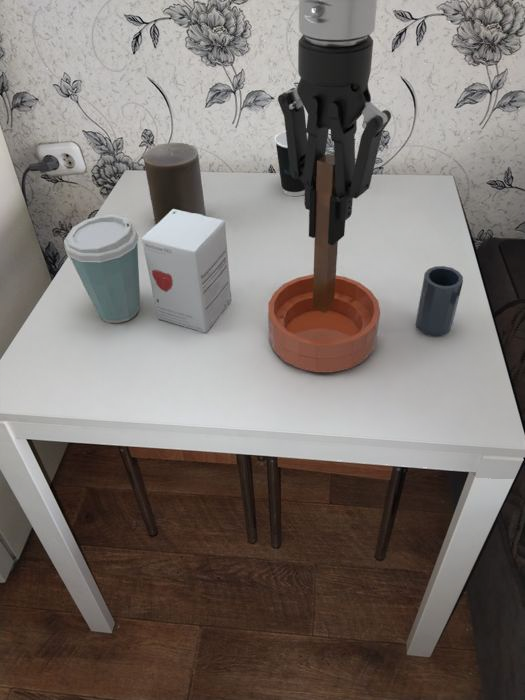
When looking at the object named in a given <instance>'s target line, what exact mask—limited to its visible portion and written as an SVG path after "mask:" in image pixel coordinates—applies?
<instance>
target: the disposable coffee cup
mask: <svg viewBox="0 0 525 700" xmlns="http://www.w3.org/2000/svg"><path fill="white" fill-rule="evenodd" d="M138 242H139V234H138V231H137V229H136V228H135V225H134V224H133V223H132V222H131V220H130V218H129V217H128V216H124V215H121V214H118V213H113V214H112V213H111V214H110V213H109V214H100V215H97V216H93V217H90V218H87V219H84V220H82V221H81V222H80V223H78V224H76V225H74V226H73V227H71V229H70V231H69V232H68V234H67V235H66V237H65V238H64V240H63V243H64V246H63V248H64V249H65V252H66V255H67V257H69V258H70V261H71V262H72V264H73V266H74V269H75V270H76V273H77V274H78V278H79V279H80V281H81V283H82V285H83V287H84V289H85V291H86V293H87V295H88V297H89V300H90V301H91V303H92V305H93V307H94V309H95V311H96V313H97V315H98V317H100V319H101V320H103V321H105V322H106V323H108V324H121V323H124V322H127V321H130V320H131V319H133V318H134V317H135V316H137V314H138V312H139V309H140V306H141V297H140V295H141V293H140V291H141V290H140V271H139V269H140V268H139V248H138Z"/></svg>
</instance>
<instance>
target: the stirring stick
mask: <svg viewBox="0 0 525 700" xmlns="http://www.w3.org/2000/svg"><path fill="white" fill-rule="evenodd" d="M335 193H336V181H335V159H334V155H333V154H331V153H325V156H323V157H322V158H320V159H319V160H317V180H316V215H315V238H314V245H313V246H314V247H313V249H314V250H313V274H314V276H313V308H315V309H317V310H319V311H322V312H324V313H326V312H327V311H328V310H329V309H330V308H331V307H332V306H333V305H334V295H335V279H336V275H337V263H338V262H337V260H338V245H339V241H337V242H336V243H335V244H334V245H330V244H328V228H329V207H330V197H331V196H332V195H334V194H335Z"/></svg>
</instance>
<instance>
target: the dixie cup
mask: <svg viewBox="0 0 525 700" xmlns="http://www.w3.org/2000/svg"><path fill="white" fill-rule="evenodd" d="M273 140H274V141H273V142H274V143H275V145H276V146H275V147H276V155H277V162H278V169H279V176H280V177H279V178H280V184H281V188H282V192H283V193H284V195H287V196H289V197H299V196H304V195H305V186H304V185H303V182H302V181H301V180H299V179H298V178H297V179H293V178H292V176H291V174H290V165H289V156H288V147H287V138H286V130H282V131H280V132H278V133H277V134H276V135H275V136H274V138H273ZM307 140H308V133H307Z"/></svg>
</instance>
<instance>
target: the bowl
mask: <svg viewBox="0 0 525 700" xmlns="http://www.w3.org/2000/svg"><path fill="white" fill-rule="evenodd" d="M313 276H314V273H313V274H308V275H303V276H298V277H296V278H293V279H291V280H289V281H287V282H285V283H283V284H282V285H281V286H280V287H278V289H276V290H275V291H274V292H273V294H272V295H271V297H270V299H269V301H268V307H267V308H268V309H267V310H268V311H267V313H268V315H267V316H268V339H269V342H270V344H271V347H272V349H273V351H274V353H275V354H276V355H277V356H278V357H280V358H281V359H282V360H283V361H284V362H285V363H287V364H290V365H292V366H293V367H296V368H298V369H301V370H304V371H310V372H314V373H337V372H340V371H344V370H348V369H351V368H354V367H355V366H357V365H359V364H361V363H362V362H365V360H366V359H367V358H368V357H369V356H370V355H371V354H372V352H373V351H374V349H375V346H376V343H377V338H378V332H379V325H380V324H379V323H380V317H381V309H380V304H379V300H378V299H377V297H376V296H375V294H374V293H373V292H372V291H371V289H369V288H368V287H366V286H365V285H364V284H362V283H361V282H360V281H357V280H354V279H351V278H349V277H346V276H342V275H337V274H336V279H335V295H334V305H333V306H332V307H331V308H330V309H329V310H328V311H327V312H326V313H324V312H322V311H319V310H317V309H315V308H313Z"/></svg>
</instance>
